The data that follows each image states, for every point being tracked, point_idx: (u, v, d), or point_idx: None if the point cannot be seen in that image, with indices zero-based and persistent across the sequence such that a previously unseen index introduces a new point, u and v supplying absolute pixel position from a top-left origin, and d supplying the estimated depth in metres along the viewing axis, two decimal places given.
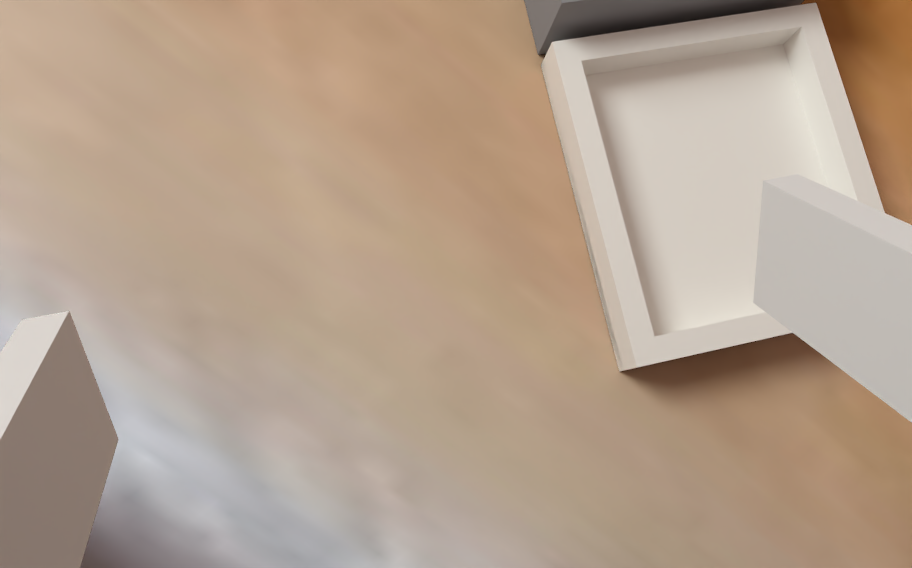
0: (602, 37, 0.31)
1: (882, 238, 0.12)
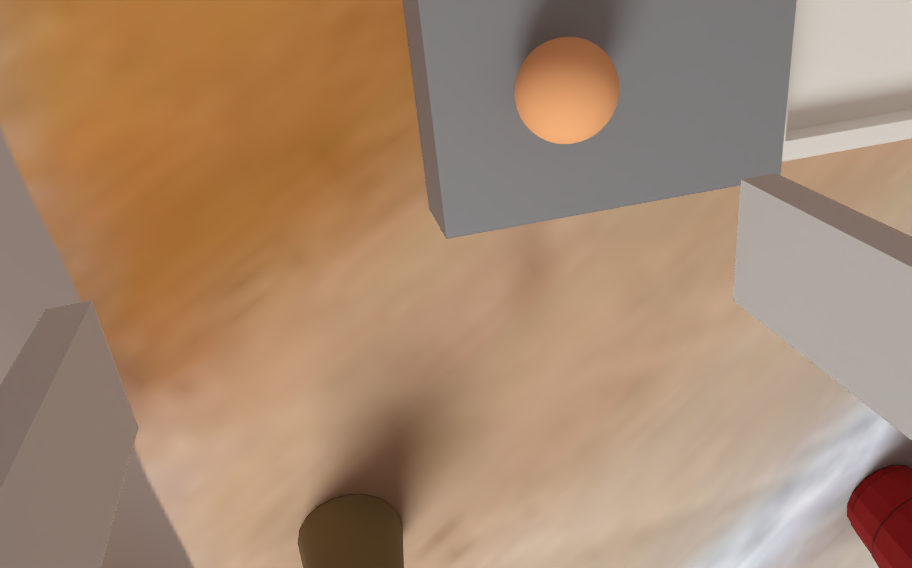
0: None
1: (853, 236, 0.12)
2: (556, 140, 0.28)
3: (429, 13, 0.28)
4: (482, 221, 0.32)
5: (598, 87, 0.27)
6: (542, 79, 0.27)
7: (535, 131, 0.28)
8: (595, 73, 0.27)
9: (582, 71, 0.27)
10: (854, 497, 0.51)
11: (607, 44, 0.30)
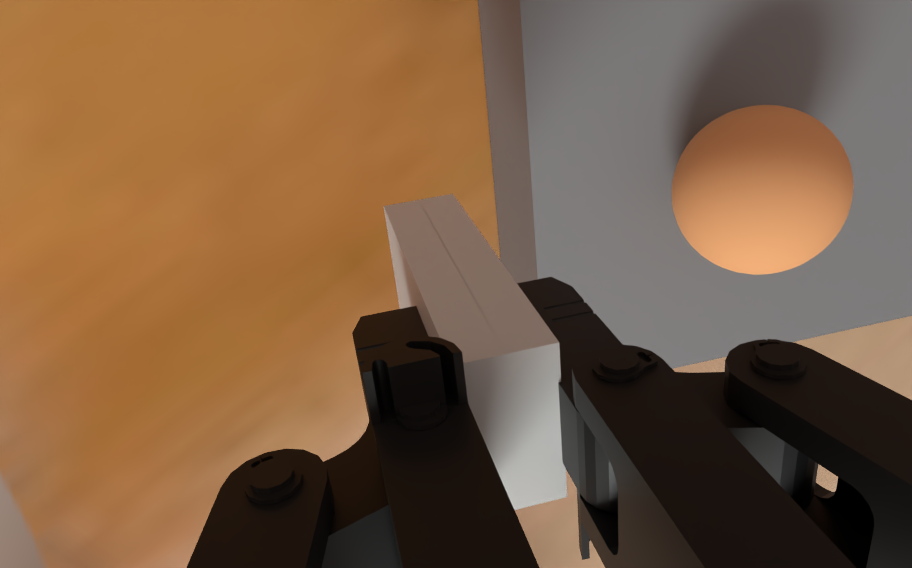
0: None
1: (455, 257, 0.13)
2: (744, 271, 0.18)
3: (539, 66, 0.17)
4: None
5: (833, 195, 0.16)
6: (737, 181, 0.16)
7: (710, 256, 0.18)
8: (829, 172, 0.16)
9: (809, 169, 0.16)
10: None
11: (805, 109, 0.19)
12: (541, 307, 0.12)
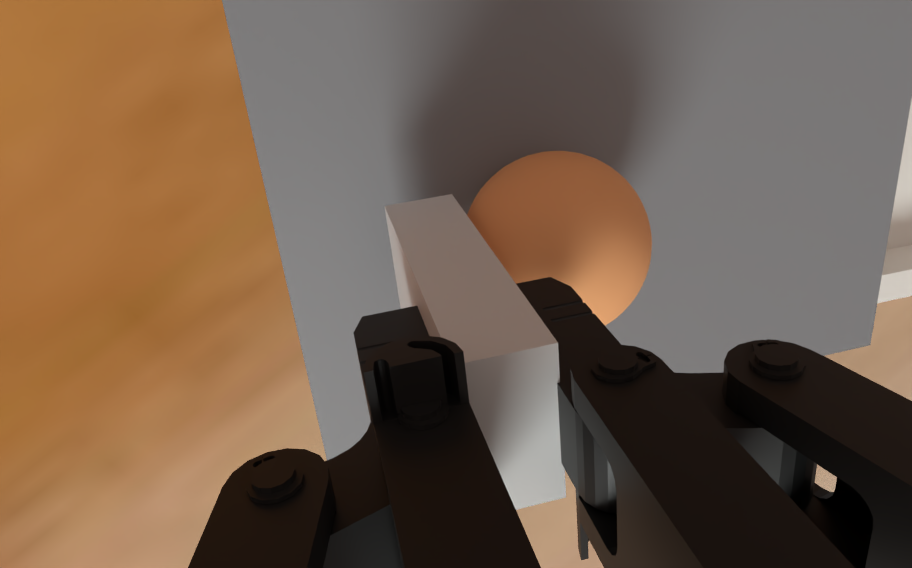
0: None
1: (454, 257, 0.13)
2: None
3: (267, 114, 0.15)
4: None
5: (638, 244, 0.15)
6: (541, 242, 0.14)
7: None
8: (631, 220, 0.14)
9: (612, 220, 0.14)
10: None
11: (594, 156, 0.17)
12: (540, 307, 0.12)
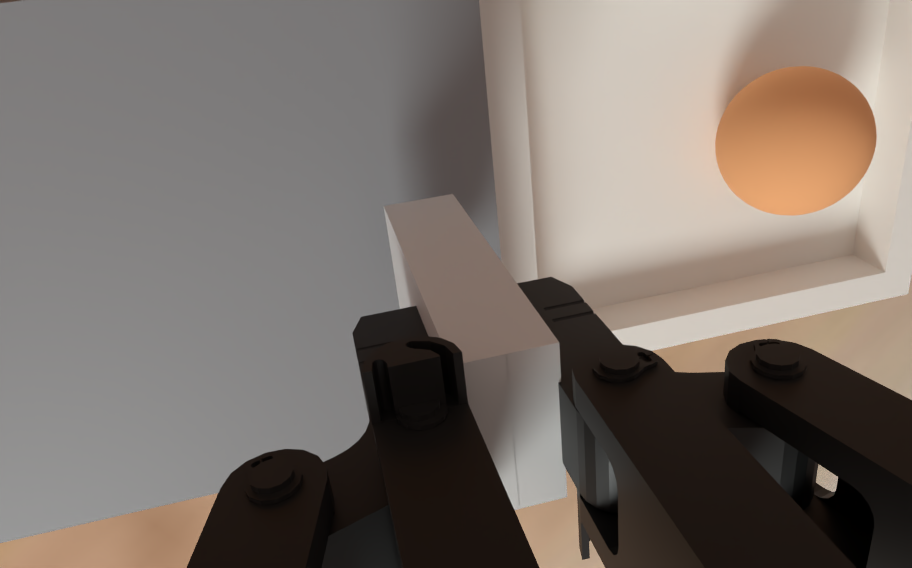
0: None
1: (455, 257, 0.13)
2: None
3: None
4: None
5: None
6: None
7: None
8: None
9: None
10: None
11: (111, 240, 0.16)
12: (541, 307, 0.12)
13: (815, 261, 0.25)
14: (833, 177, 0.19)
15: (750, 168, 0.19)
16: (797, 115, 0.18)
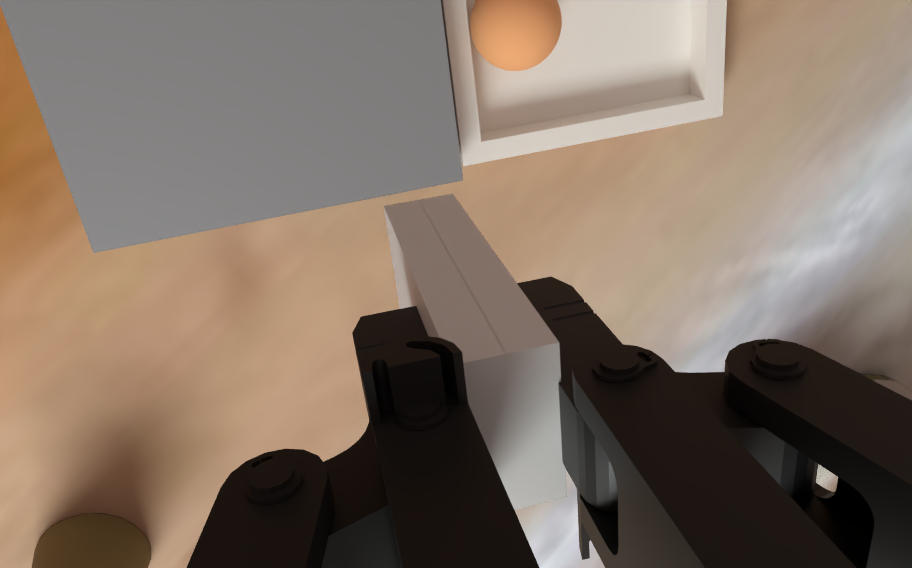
0: (460, 120, 0.34)
1: (455, 256, 0.13)
2: (526, 65, 0.32)
3: (17, 19, 0.27)
4: (131, 233, 0.31)
5: (558, 10, 0.32)
6: (521, 8, 0.31)
7: (509, 59, 0.32)
8: None
9: None
10: None
11: (231, 47, 0.29)
12: (541, 307, 0.12)
13: (664, 97, 0.38)
14: None
15: None
16: None
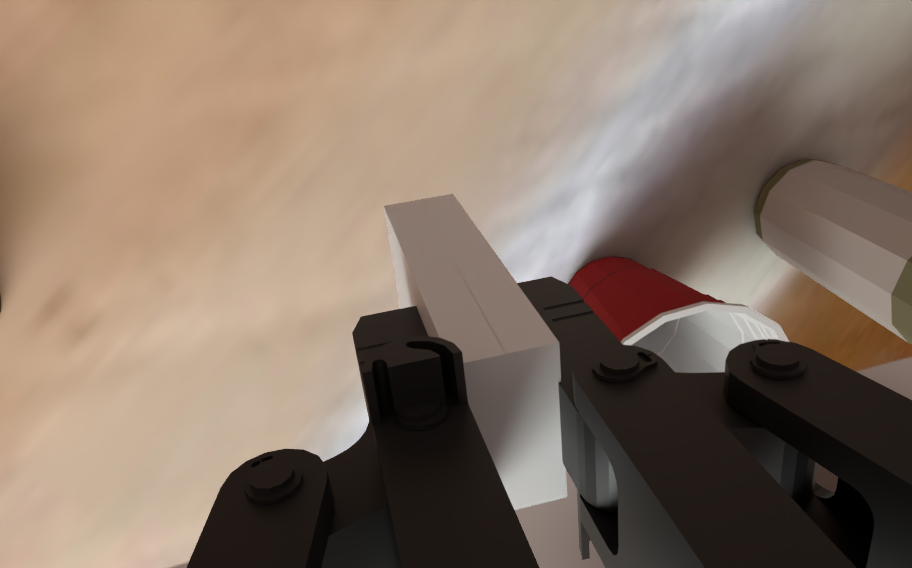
0: None
1: (455, 257, 0.13)
2: None
3: None
4: None
5: None
6: None
7: None
8: None
9: None
10: None
11: None
12: (541, 307, 0.12)
13: None
14: None
15: None
16: None
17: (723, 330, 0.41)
